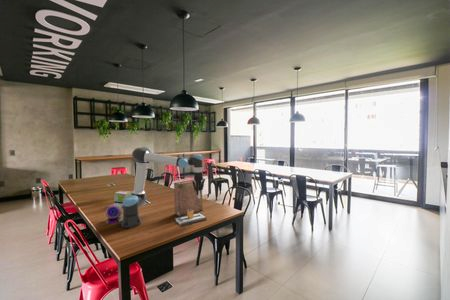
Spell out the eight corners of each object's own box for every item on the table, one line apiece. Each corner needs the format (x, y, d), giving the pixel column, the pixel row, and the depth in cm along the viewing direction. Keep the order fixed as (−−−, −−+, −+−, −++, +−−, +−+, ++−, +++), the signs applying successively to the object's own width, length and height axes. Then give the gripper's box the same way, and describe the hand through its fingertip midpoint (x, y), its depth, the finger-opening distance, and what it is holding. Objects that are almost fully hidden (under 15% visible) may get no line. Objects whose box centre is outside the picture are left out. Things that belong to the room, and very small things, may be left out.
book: (197, 208, 220) (196, 179, 219) (202, 210, 213) (201, 180, 212) (174, 214, 204) (173, 182, 202) (179, 216, 197) (178, 184, 195)
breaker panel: (175, 220, 187) (175, 218, 187) (199, 215, 199) (199, 213, 199) (180, 225, 178) (180, 222, 178) (205, 219, 190) (205, 216, 190)
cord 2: (180, 225, 177) (180, 223, 177) (205, 219, 189) (205, 217, 189) (181, 226, 175) (181, 224, 175) (206, 219, 188) (206, 218, 188)
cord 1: (174, 219, 190) (174, 217, 190) (197, 214, 203) (197, 212, 202) (174, 220, 189) (174, 218, 189) (198, 214, 201) (198, 213, 201)
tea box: (114, 206, 231) (113, 192, 230) (121, 203, 241) (120, 190, 240) (125, 207, 227) (125, 193, 226) (132, 204, 236) (131, 191, 235)
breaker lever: (187, 217, 189) (187, 209, 189) (191, 216, 191) (191, 208, 191) (189, 218, 186) (189, 210, 185) (193, 217, 188) (193, 209, 187)
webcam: (104, 224, 182) (103, 206, 181) (108, 219, 194) (107, 202, 193) (121, 222, 185) (120, 205, 185) (123, 217, 198) (123, 201, 197)
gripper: (193, 173, 184) (194, 200, 185) (206, 171, 191) (207, 197, 193) (189, 172, 190) (190, 198, 192) (202, 170, 198) (203, 195, 199)
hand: (198, 197), depth 192 cm, fingers closed
